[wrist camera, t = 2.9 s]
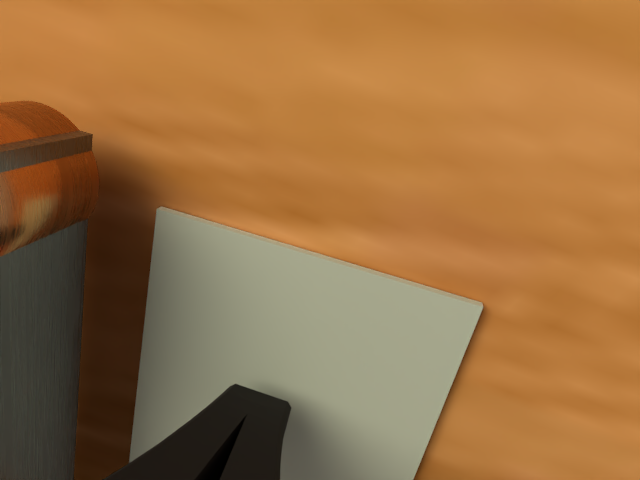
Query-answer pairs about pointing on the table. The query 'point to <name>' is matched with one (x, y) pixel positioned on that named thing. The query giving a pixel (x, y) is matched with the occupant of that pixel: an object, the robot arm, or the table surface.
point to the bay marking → (296, 348)
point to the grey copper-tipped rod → (41, 286)
